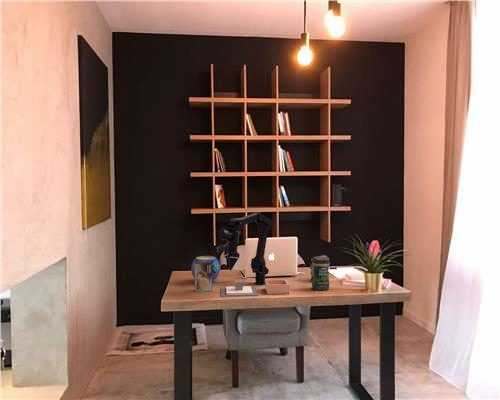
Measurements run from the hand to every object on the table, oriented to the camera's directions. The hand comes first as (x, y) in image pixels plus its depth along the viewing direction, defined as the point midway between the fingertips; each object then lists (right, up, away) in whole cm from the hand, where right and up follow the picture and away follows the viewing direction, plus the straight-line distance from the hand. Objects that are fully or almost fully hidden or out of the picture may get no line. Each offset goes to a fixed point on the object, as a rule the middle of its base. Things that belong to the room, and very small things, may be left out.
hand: (229, 269), depth 233 cm
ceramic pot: (-15, -12, +24) cm, 31 cm away
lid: (+5, -12, 0) cm, 13 cm away
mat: (+5, -13, 0) cm, 14 cm away
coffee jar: (+52, -12, +6) cm, 54 cm away
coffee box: (-15, -13, +4) cm, 20 cm away
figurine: (+55, -11, +27) cm, 62 cm away
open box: (+26, -12, +2) cm, 29 cm away
